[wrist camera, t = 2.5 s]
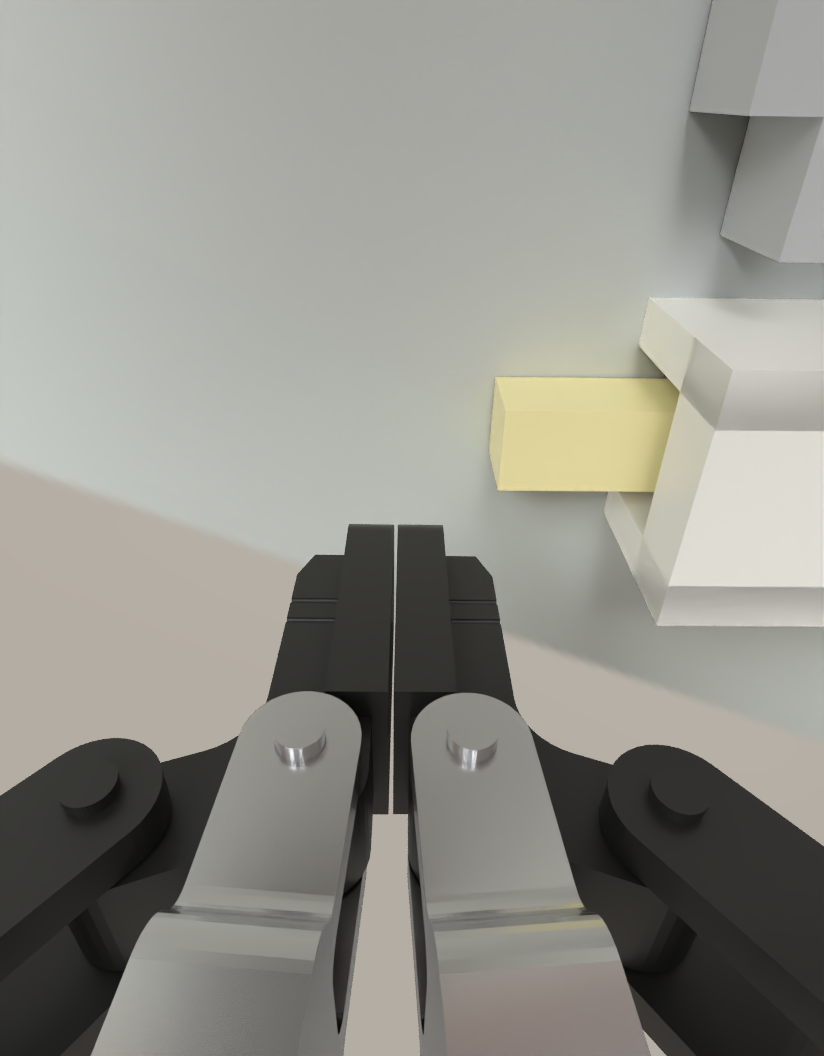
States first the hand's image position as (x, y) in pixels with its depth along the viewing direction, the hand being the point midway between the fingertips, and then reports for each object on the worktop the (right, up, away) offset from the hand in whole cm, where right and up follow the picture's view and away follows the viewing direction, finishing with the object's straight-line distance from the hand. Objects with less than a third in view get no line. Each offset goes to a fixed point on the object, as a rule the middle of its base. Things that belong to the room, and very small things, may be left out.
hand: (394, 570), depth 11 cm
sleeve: (+9, +3, +4) cm, 11 cm away
